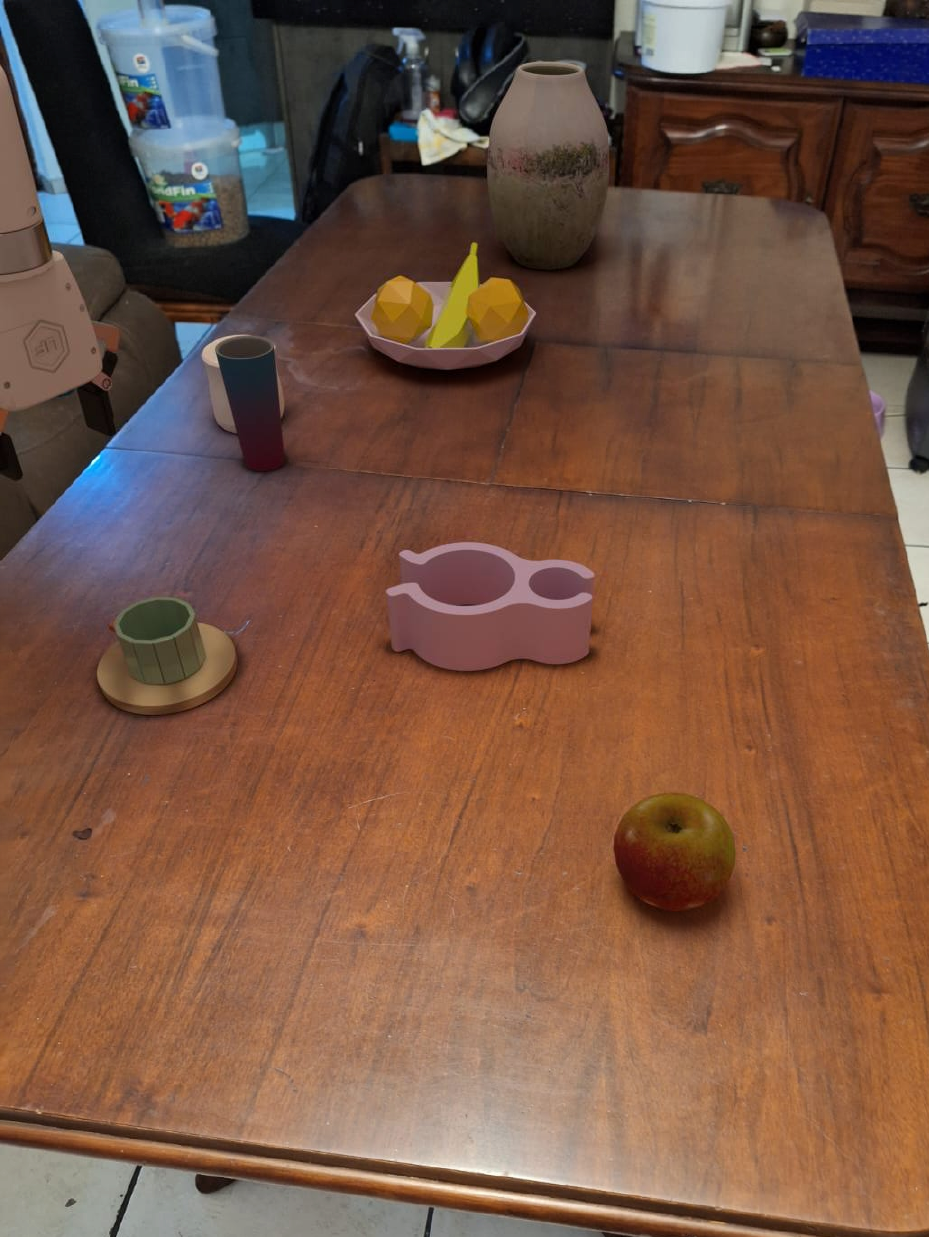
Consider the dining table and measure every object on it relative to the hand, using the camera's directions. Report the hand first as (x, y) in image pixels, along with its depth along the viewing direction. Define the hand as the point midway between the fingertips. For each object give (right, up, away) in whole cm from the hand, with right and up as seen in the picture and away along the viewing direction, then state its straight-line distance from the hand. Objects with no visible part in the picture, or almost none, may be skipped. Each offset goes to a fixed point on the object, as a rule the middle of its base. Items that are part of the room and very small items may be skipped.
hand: (56, 452), depth 88 cm
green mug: (+4, -17, +12) cm, 21 cm away
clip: (+37, -14, +18) cm, 43 cm away
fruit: (+52, -36, -5) cm, 64 cm away
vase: (+43, +62, +100) cm, 125 cm away
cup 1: (+2, +18, +51) cm, 54 cm away
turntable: (+5, -18, +12) cm, 23 cm away
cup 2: (+6, +10, +43) cm, 44 cm away
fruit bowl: (+28, +34, +69) cm, 82 cm away
